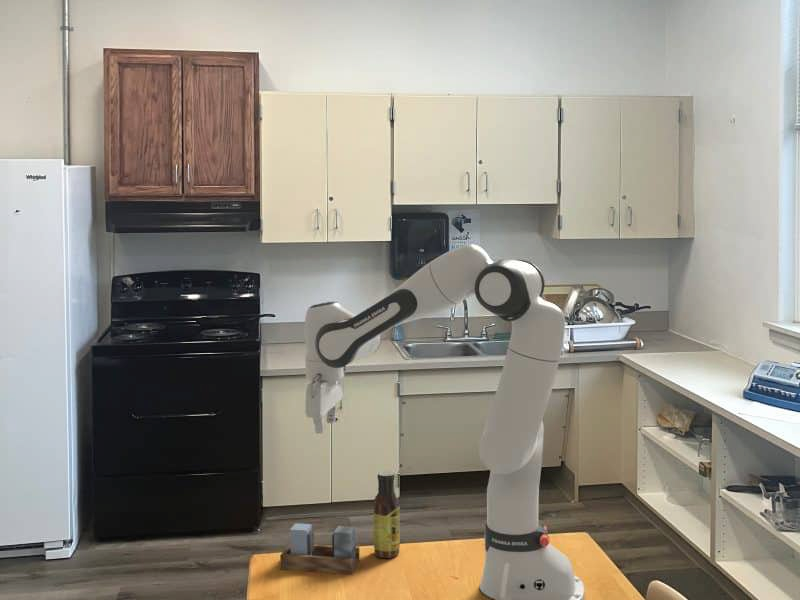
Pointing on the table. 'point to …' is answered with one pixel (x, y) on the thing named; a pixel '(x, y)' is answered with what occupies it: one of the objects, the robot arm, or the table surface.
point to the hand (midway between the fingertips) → (325, 427)
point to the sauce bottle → (386, 518)
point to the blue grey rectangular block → (302, 539)
